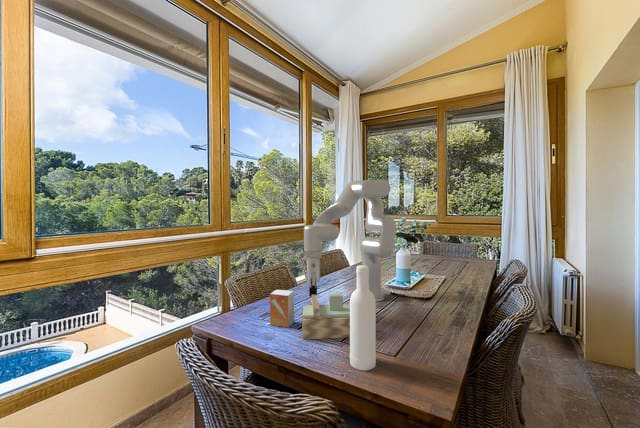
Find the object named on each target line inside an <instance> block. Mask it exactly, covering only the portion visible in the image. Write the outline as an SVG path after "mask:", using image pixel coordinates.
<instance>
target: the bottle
mask: <svg viewBox="0 0 640 428" xmlns="http://www.w3.org/2000/svg"><path fill="white" fill-rule="evenodd" d="M355 273H356V289H355V290H353V292H351V295H350V299H349V304H350V337H349V364H350V365H351V367H352V368H354V369H356V370H358V371H371V370H372V369H374V368H375V367H376V366H377V365H376V361H377V353H376V352H377V351H376V348H377V347H376V344H377V343H376V341H377V340H376V335H377V334H376V332H377V330H376V328H377V327H376V321H377V320H376V316H377V315H376V313H377V312H376V309H377V308H376V305H377V302H376V300H375V297H374V294H373V293H372V292H371V291H370V290H369V267H368V266H365V265H362V264H360V265H357V266H356V270H355Z"/></svg>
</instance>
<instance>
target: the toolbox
mask: <svg viewBox="0 0 640 428" xmlns="http://www.w3.org/2000/svg"><path fill="white" fill-rule="evenodd" d="M308 305H312V302H308ZM318 305H320V302H319V301H318ZM301 325H302V326H301V329H302V340H312V339H313V340H317V339H318V340H321V339H336V338H337V339H338V338H341V339H342V338H344V339H345V338H350V317H336V318H322V315H319V317H314V315H311V319H303V308H302V307H301Z"/></svg>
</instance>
